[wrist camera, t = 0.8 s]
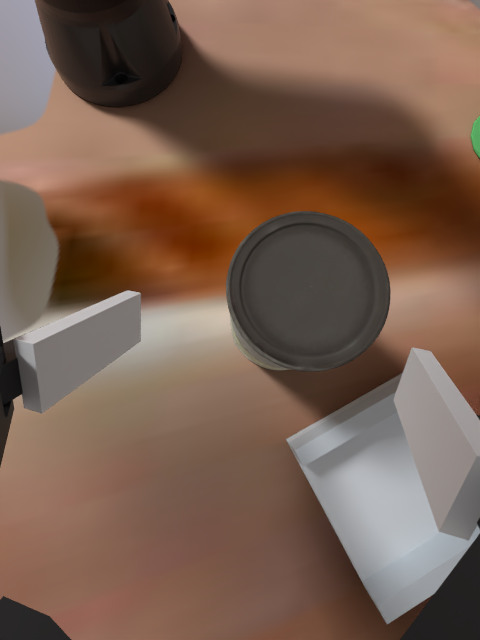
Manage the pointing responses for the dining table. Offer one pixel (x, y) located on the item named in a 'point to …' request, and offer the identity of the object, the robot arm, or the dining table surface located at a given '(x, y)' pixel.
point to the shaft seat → (378, 501)
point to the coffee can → (306, 293)
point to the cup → (476, 136)
